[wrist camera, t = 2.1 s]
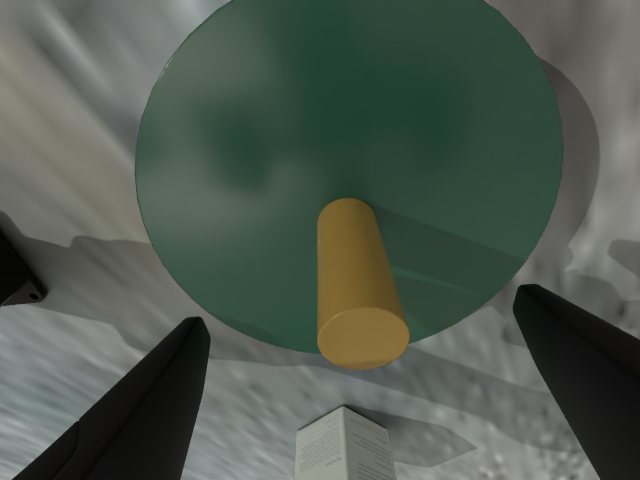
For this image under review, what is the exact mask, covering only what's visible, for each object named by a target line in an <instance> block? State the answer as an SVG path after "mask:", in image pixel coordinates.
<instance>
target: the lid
mask: <svg viewBox="0 0 640 480" xmlns="http://www.w3.org/2000/svg"><path fill="white" fill-rule="evenodd" d="M562 161H563V138H562V126H561V118H560V114H559V110H558V106H557V102H556V98H555V94H554V91H553V89H552V86H551V84H550V82H549V80H548V77H547V75H546V73H545V71H544V68H543V66H542V64H541V62H540V61H539V59H538V58H537V56H536V55H535V53H534V52H533V50H532V49H531V47H530V46H529V44H528V43H527V41H526V40H525V38H524V37H523V36H522V35H521V34H520V33H519V32H518V31H517V30H516V28H515V27H514V26H513V25H512V24H511V23H510V22H509V21H508V20H507V19H506V18H505V17H504V16H503V15H502V14H501V13H500V12H499V11H497V10H496V9H494V8H493V7H492V6H490V5H489V4H488V3H486V2H485V1H483V0H231V1H230V2H228V3H227V4H225V5H224V6H222V7H220V8H219V9H217V10H216V11H215V12H214V13H213V14H212V15H210V16H209V17H208V18H207V19H206V20H205V21H204V22H203V23H202V24H200V25H199V26H198V27H197V28H196V29H195V30H194V31H193V32H192V33H190V34H189V36H188V37H187V38H186V39H185V41H184V42H183V43H182V44H181V46H180V47H179V48H178V49H177V51H176V52H175V53H174V54H173V56H172V57H171V58H170V59H169V61H168V62H167V64H166V66H165V68H164V69H163V71H162V73H161V75H160V76H159V78H158V80H157V82H156V83H155V85H154V87H153V89H152V91H151V94H150V97H149V99H148V102H147V105H146V107H145V110H144V113H143V116H142V119H141V124H140V129H139V134H138V139H137V144H136V158H135V181H136V190H137V200H138V204H139V208H140V212H141V216H142V220H143V223H144V226H145V228H146V231H147V233H148V236H149V238H150V241H151V243H152V246H153V247H154V249H155V251H156V253H157V254H158V256H159V258H160V260H161V262H162V263H163V265H164V266H165V268H166V269H167V270H168V272H169V273H170V274H171V276H172V277H173V279H174V280H175V281H176V283H177V284H178V285H179V286H180V287H181V288H182V289H183V290H184V291H185V292H186V293H187V294H188V295H189V296H190V297H191V299H193V300H194V301H195V302H196V303H197V304H199V305H200V306H201V307H202V308H203V309H204V310H206V311H207V312H208V313H210V314H211V315H213V316H214V317H215V318H217V319H218V320H220V321H221V322H223V323H224V324H226V325H228V326H230V327H232V328H233V329H235V330H237V331H239V332H241V333H243V334H245V335H248V336H250V337H252V338H255V339H257V340H259V341H262V342H265V343H268V344H272V345H275V346H278V347H282V348H286V349H291V350H295V351H300V352H308V353H316V354H323V356H324V357H325V358H326V359H327V360H329V361H330V362H332V363H333V364H335V365H337V366H340V367H343V368H347V369H354V370H367V369H373V368H378V367H381V366H384V365H387V364H389V363H391V362H392V361H394V360H396V359H397V358H398V357H399V356H401V355H402V354H403V352H404V351H405V350H406V348H407V346H408V344H410V343H413V342H416V341H419V340H422V339H424V338H427V337H429V336H432V335H434V334H437V333H439V332H441V331H443V330H444V329H446V328H448V327H450V326H452V325H454V324H456V323H458V322H459V321H461V320H462V319H464V318H466V317H467V316H469V315H470V314H472V313H473V312H475V311H476V310H477V309H479V308H480V307H481V306H483V305H484V304H485V303H486V302H488V301H489V300H490V299H492V298H493V297H494V296H495V295H496V294H497V293H498V292H499V291H500V290H501V289H502V288H503V287H504V286H505V285H506V284H507V283H508V282H509V281H510V280H511V279H512V278H513V276H514V275H515V274H516V273H517V272H518V271H519V269H520V268H521V267H522V266H523V265H524V263H525V262H526V260H527V259H528V257H529V256H530V254H531V253H532V251H533V250H534V248H535V247H536V245H537V243H538V241H539V239H540V237H541V235H542V234H543V232H544V230H545V228H546V226H547V224H548V221H549V218H550V215H551V213H552V210H553V207H554V205H555V202H556V198H557V193H558V189H559V184H560V180H561V175H562Z"/></svg>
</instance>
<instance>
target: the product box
mask: <svg viewBox="0 0 640 480" xmlns="http://www.w3.org/2000/svg"><path fill="white" fill-rule="evenodd" d="M295 480H396V474H395V468H394V463H393V457H392V452H391V446H390V441H389V435H388V430H387V429H385V428H383V427H381V426H379V425H378V424H376V423H374V422H372V421H370V420H368V419H366V418H365V417H363V416H361V415H359V414H357V413H355V412H353V411H352V410H350V409H348V408H346V407H344V406H342V407H340V408H338V409H336V410H335V411H333V412H331V413H329V414H328V415H326V416H324V417H322V418H321V419H319V420H317V421H316V422H314V423H312V424H310V425H308V426H307V427H305V428H303V429H301V430H300V431H298V432H297V439H296V461H295Z"/></svg>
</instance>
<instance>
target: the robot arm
mask: <svg viewBox="0 0 640 480" xmlns="http://www.w3.org/2000/svg"><path fill="white" fill-rule="evenodd" d="M46 296H47V292H46V290H45V289H44V288H43V286H42V285H41V284H40V282H39V281H38V280H37V278H36V277H35V276H34V274H33V273H32V272H31V271H30V269H29V268H28V267H27V265H26V264H25V263H24V261H23V260H22V259H21V257H20V256H19V255H18V254H17V252H16V251H15V250H14V248H13V247H12V246H11V244H10V243H9V242H8V240H7V239H6V238H5V237H4V235H3V234H2V233H1V231H0V307H1V306H6V305H16V304H26V303H36V302H41V301H42V300H43V299H44V298H45V297H46ZM513 313H514V316H515V318H516V321H517V323H518V325H519V328H520V330H521V332H522V335H523V337H524V339H525V342H526V344H527V346H528V348H529V351H530V353H531V355H532V358H533V360H534V362H535V364H536V366H537V368H538V370H539V372H540V374H541V375H542V377H543V379H544V381H545V382H546V384H547V386H548V388H549V390H550V391H551V393H552V395H553V397H554V398H555V400H556V402H557V404H558V405H559V407H560V409H561V411H562V413H563V414H564V416H565V418H566V420H567V421H568V423H569V425H570V427H571V428H572V430H573V432H574V434H575V436H576V437H577V439H578V441H579V443H580V444H581V446H582V448H583V450H584V451H585V453H586V455H587V457H588V459H589V460H590V462H591V464H592V466H593V467H594V469H595V471H596V473H597V474H598V476H599V478H600V480H640V340H639V339H637V338H636V337H634V336H632V335H630V334H628V333H626V332H625V331H623V330H621V329H619V328H617V327H615V326H613V325H612V324H610V323H608V322H606V321H604V320H602V319H600V318H599V317H597V316H595V315H593V314H591V313H589V312H588V311H586V310H584V309H582V308H580V307H578V306H576V305H575V304H573V303H571V302H569V301H567V300H565V299H564V298H562V297H560V296H558V295H556V294H554V293H552V292H551V291H549V290H547V289H545V288H543V287H541V286H539V285H537V284H526V285H520V286H519V287H518V289H517V293H516V297H515V300H514V304H513ZM210 342H211V339H210V334H209V332H208V330H207V328H206V325H205V323H204V321H203V319H202V318H201V317H199V316H197V317H188V318H186V319H184V320H183V321H182V322H181V323H180V324H179V325H178V326H177V327H176V328H175V329H174V330H173V331H172V332H170V333H169V334H168V335H167V336H166V337H165V338H164V339H163V340H162V341H161V342H160V343H159V344H158V345H157V346H156V347H155V348H154V349H153V350H151V351H150V352H149V353H148V354H147V355H146V356H145V357H144V358H143V359H142V360H141V361H140V362H139V363H138V364H137V365H136V366H135V367H134V368H132V369H131V370H130V371H129V372H128V373H127V374H126V375H125V376H124V377H123V378H122V379H121V380H120V381H119V382H118V383H117V384H116V385H115V386H113V387H112V388H111V389H110V390H109V391H108V392H107V393H106V394H105V395H104V396H103V397H102V398H101V399H100V400H99V401H98V402H97V403H95V404H94V405H93V406H92V407H91V408H90V409H89V410H88V411H87V412H86V413H85V414H84V415H83V416H82V417H81V418H80V419H79V421H76V422H75V423H74V424H73V425H72V426H71V427H70V428H69V429H68V430H67V431H66V432H65V433H64V434H63V435H62V436H60V437H59V438H58V439H57V440H56V441H55V442H54V443H53V444H52V445H51V446H50V447H48V448H47V449H46V450H45V451H44V452H43V453H42V454H41V455H40V456H39V457H37V458H36V459H35V460H34V461H33V462H32V463H30V464H29V465H28V466H27V467H26V468H25V469H24V470H22V471H21V472H20V473H19V474H18V475H17V476H15V477H14V478H13V479H12V480H180V479H181V475H182V471H183V467H184V463H185V460H186V456H187V452H188V448H189V444H190V441H191V437H192V433H193V429H194V425H195V422H196V418H197V414H198V410H199V406H200V403H201V398H202V394H203V389H204V383H205V376H206V370H207V363H208V356H209V350H210Z"/></svg>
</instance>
